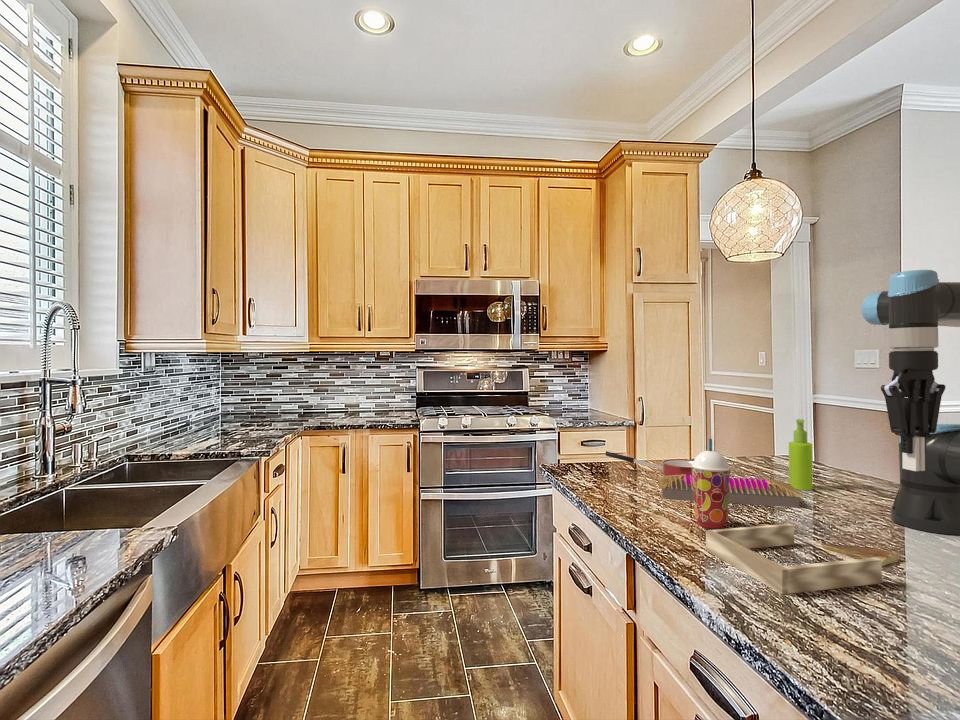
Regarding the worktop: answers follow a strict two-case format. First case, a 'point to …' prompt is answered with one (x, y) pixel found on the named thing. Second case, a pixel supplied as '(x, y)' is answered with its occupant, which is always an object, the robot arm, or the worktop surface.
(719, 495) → the smoothie
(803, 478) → the soap dispenser
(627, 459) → the frying pan
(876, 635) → the worktop surface
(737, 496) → the pink bristle brush
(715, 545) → the box
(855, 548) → the shard
